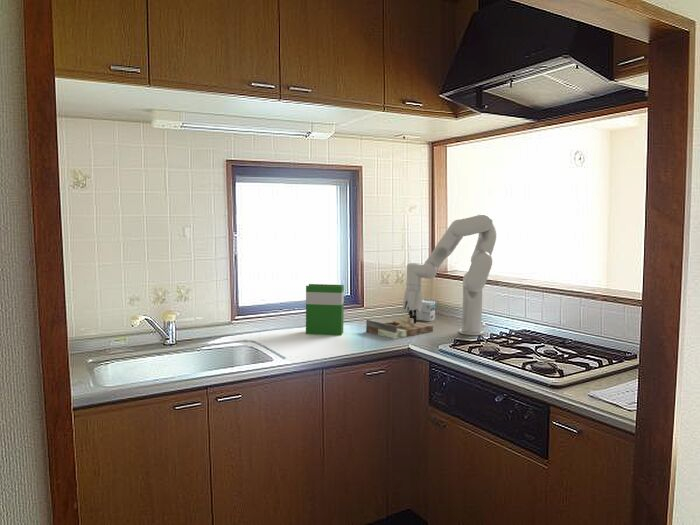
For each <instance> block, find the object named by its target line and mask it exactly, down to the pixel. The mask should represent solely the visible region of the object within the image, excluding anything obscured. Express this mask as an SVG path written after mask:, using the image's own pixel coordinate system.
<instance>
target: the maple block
mask: <svg viewBox="0 0 700 525" xmlns="http://www.w3.org/2000/svg"><path fill="white" fill-rule="evenodd" d="M399 320H400V322H399V326H402V327H406V328H407V327H413V324H414V319H413V318H410V316H409V317H408V316H404V317H399Z"/></svg>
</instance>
